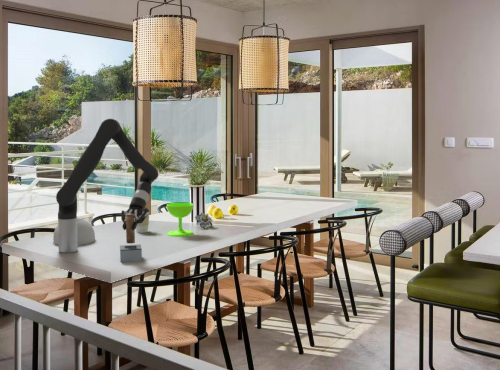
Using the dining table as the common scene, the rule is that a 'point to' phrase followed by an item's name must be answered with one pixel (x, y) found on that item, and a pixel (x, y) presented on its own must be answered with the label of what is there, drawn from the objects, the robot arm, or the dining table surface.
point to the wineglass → (180, 217)
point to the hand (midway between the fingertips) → (128, 229)
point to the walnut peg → (129, 232)
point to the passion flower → (204, 220)
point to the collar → (130, 253)
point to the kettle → (80, 232)
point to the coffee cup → (143, 224)
